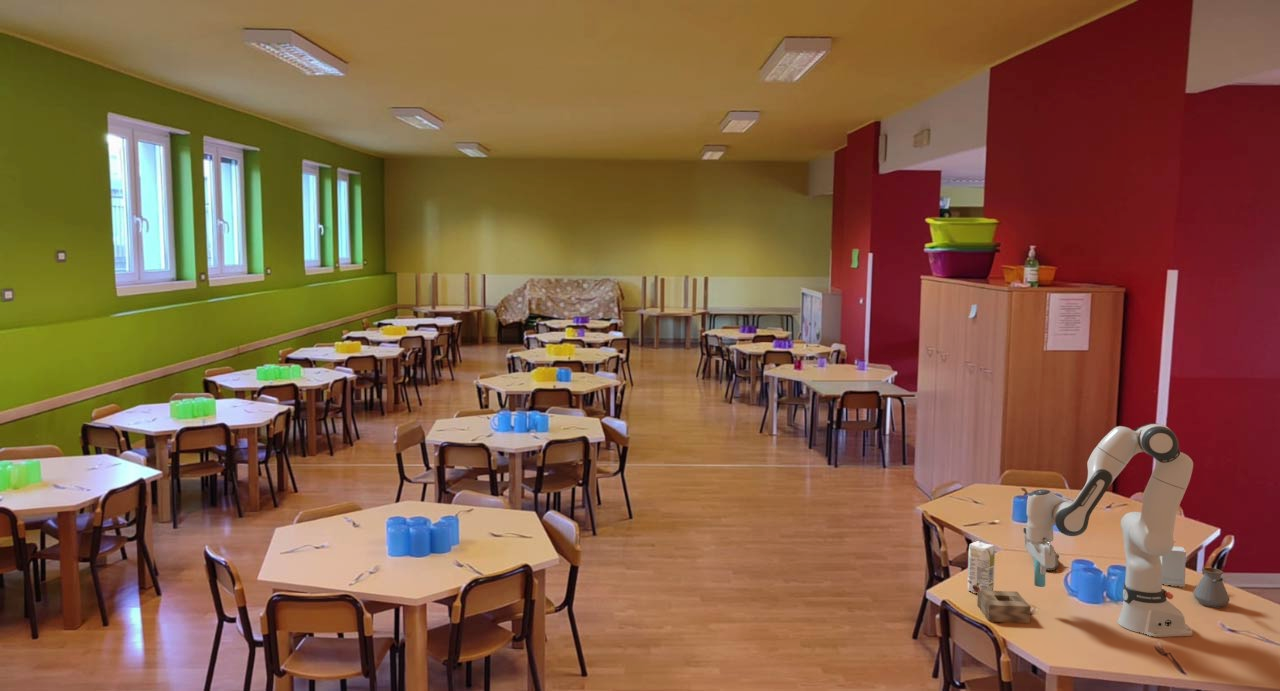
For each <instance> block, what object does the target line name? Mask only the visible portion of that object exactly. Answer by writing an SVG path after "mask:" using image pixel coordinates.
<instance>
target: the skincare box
mask: <svg viewBox="0 0 1280 691" xmlns="http://www.w3.org/2000/svg"><path fill="white" fill-rule="evenodd" d="M1186 557H1187V551H1186V549H1185V548H1184V547H1183V546H1175V545H1174V546H1173V549H1172V550H1171V551H1170V552H1169V553H1168V554H1166V555H1164V556H1160V560H1161V564H1162V567H1163V574H1162V584H1164V585H1163V586H1168V585H1171V586H1170V587H1177V586H1179V587H1178V588H1186V562H1187V560H1186Z"/></svg>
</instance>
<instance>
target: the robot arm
mask: <svg viewBox="0 0 1280 691" xmlns="http://www.w3.org/2000/svg"><path fill="white" fill-rule="evenodd" d="M1138 453H1145V454H1147V455H1149V456H1151V457H1152V458H1154V459H1155V465H1154V469H1153V470H1152V473H1151V475H1150V476H1149V477H1150V478H1149V480H1148V482H1147V485H1146V486H1145V488H1144V491H1143V493H1142V498H1141V499H1142V505H1141V506H1142V507H1141V511H1130V512H1127V513H1125V514H1124V515H1123V517H1122V518H1121V520H1120V528H1121V532H1122V539H1123V548H1124V555H1125V578H1124V579H1125V580H1124V583H1123V591H1122V599H1123V603H1122V608H1121V611H1120V614H1119V617H1118V620H1117V623H1118V624H1119V625H1120V626H1121V627H1123V628H1125V629H1127V630H1129V631H1132V632H1134V633H1135V632H1136V633H1139V632H1140V633H1139V634H1143V633H1144V634H1143V635H1145V634H1147V635H1146V636H1148V635H1149V637H1151V636H1154V637H1153V638H1156V637H1155V636H1159V637H1158V638H1167V637H1185V636H1186V637H1190V636H1193V630H1192V628H1191V627H1190V626H1189V625H1188V624H1186V620H1185V615H1184V613H1182V611H1181V610H1180V609H1179V608H1177V607H1176V606H1175V605H1174V604H1172V603H1171V602H1170V601H1169V600H1173V598H1174V595H1173V594H1172V593H1171V592H1169V591H1167V590H1165V589H1164V588H1163V587H1162V586H1163V585H1162V574H1163V567H1162V564H1161V560H1160V556H1164V555H1166V554H1168V553H1169V552H1170V551H1171V550H1172V549H1173V546H1174V547H1175V540H1174V530H1175V523H1176V519H1177V515H1178V514H1177V513H1178V511H1179V508H1180V505H1181V502H1182V500H1183V498H1184V495H1185V493H1186V491H1187V488H1188V486H1189V484H1190V481H1191V477H1192V473H1193V469H1194V462H1193V460H1192V458H1191V457H1190V456H1189V455H1188V454H1186V453H1184V452H1181V449H1180V444H1179V439H1178V437H1177V434H1175V432H1174V431H1173V430H1171V429H1170V428H1169V427H1168V426H1166V425H1164V424H1161V423H1155V422H1152V423H1147V424H1143V425H1142V426H1139V427H1136V428H1134V429H1132V428H1130V427H1127V426H1123V425H1119V426H1118V425H1117V426H1115V427H1114V428H1112V429H1111V430H1110V431H1109V432H1108V433H1107V434H1105V436H1104V437H1103V438H1102V439H1101V440H1100V441H1099V442H1098V444H1097V445H1096V447H1094V449H1093V450H1092V452H1091V454H1090V456H1089V458H1088V460H1087V464H1086V465H1087V466H1086V467H1087V478H1086V482H1085V485H1084V486H1083V488H1082V489H1081V491H1080V492H1079V493H1078V495H1077V496H1076V498H1075V499H1074V500H1071V499H1069V498H1064V497H1061V496H1059V495H1057V494H1055V493H1053V492H1052V491H1050V489H1036V490H1033V491H1031V492H1030V493H1029V494H1028V497H1027V500H1026V516H1027V521H1026V526H1023V528H1022V530H1023V531H1022V532H1023V533H1024V547H1025V550H1026V551H1027V552H1028V553H1029V555H1031V556H1032V560H1033V562H1034V553H1035V558H1036V560H1037V561H1038V562H1039V563H1040V565H1041V566H1040V568H1039V572H1040V574H1045V575H1046V574H1047V570H1046V568H1054V567H1055V554H1056V553H1055V548H1054V546H1053V545H1052V543H1051V542H1053V541H1054V526H1056V528H1057V530H1058V531H1059V532H1060V533H1061V534H1063V535H1065V536H1068V537H1077V536H1080V535H1082V534H1083V533H1084V532H1085V531H1086V530H1087V529H1088V525H1089V520H1090V517H1091V514H1092V512H1093V511H1094V509H1095V508H1096V507H1097V505H1098V503H1099V502H1100V501H1101V499H1102V498H1103V496H1104V495H1105V493H1106V492H1107V491H1108V489H1109V487H1110V486H1111V485H1112V483H1113V482H1114V481H1115V479H1117V477H1118V476H1119V474H1121V472H1122V471H1123V470H1124V469H1125V468H1126V467H1127V464H1129V462H1130V461H1131V459H1132V458H1133V457H1134V456H1136V455H1137V454H1138ZM1168 599H1169V600H1168Z"/></svg>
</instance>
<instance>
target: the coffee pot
mask: <svg viewBox="0 0 1280 691" xmlns="http://www.w3.org/2000/svg"><path fill="white" fill-rule="evenodd" d="M1201 571H1202V573H1203V576H1202V577H1201V579H1200V580H1199V582H1198V583H1197V585H1196V587H1195V588H1194V590H1193V591H1192V596H1193V598H1194V599H1195V600H1196V601H1198V603H1199V604H1201V605H1202V606H1206V607H1209V608H1216V609H1217V608H1223V607H1224V606H1227V604H1229V602H1230V600H1231V599H1230V596H1229V594H1228V591H1227V589H1226V587H1225V583H1224V582H1223V581H1225V578H1222V575H1223V574H1224V572H1223V570H1221V569H1218V568H1216V567H1202V568H1201Z"/></svg>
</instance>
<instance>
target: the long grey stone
mask: <svg viewBox="0 0 1280 691" xmlns="http://www.w3.org/2000/svg"><path fill="white" fill-rule="evenodd" d="M1059 558H1060V555H1059V554H1058V553H1055V567H1054V568H1046V571H1052V570H1054V571H1055V569H1056V570H1057V569H1058V567H1059V565H1060V564H1059Z"/></svg>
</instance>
